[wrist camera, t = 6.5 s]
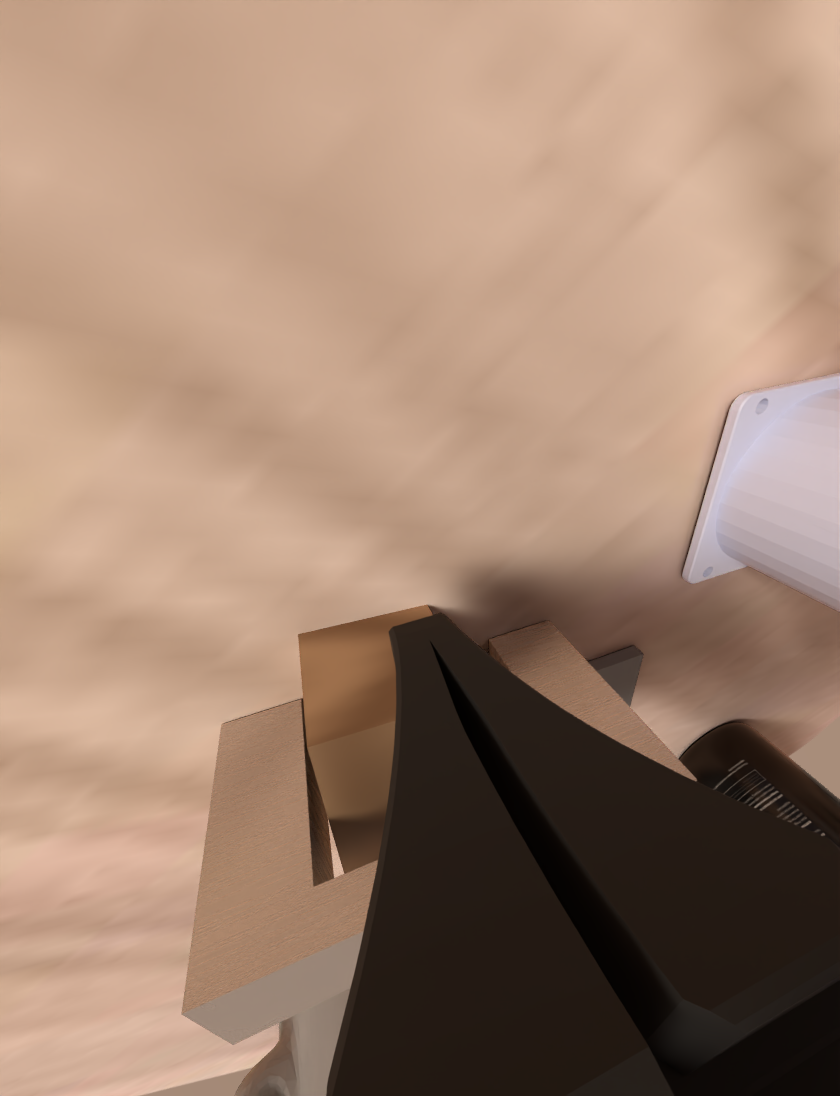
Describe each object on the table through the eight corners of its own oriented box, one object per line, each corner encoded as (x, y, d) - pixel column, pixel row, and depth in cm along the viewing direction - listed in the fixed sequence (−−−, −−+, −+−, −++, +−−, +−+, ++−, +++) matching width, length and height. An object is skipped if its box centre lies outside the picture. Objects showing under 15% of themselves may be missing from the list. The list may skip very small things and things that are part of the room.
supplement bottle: (665, 794, 30) (856, 1024, 20) (672, 747, 27) (911, 1000, 17) (738, 754, 31) (957, 957, 21) (755, 703, 27) (1030, 919, 17)
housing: (548, 620, 17) (696, 779, 11) (544, 669, 18) (672, 833, 12) (221, 724, 14) (181, 1014, 8) (249, 772, 15) (233, 1044, 10)
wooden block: (424, 600, 14) (482, 704, 10) (433, 807, 21) (470, 917, 17) (297, 629, 13) (307, 758, 9) (350, 838, 20) (369, 963, 16)
